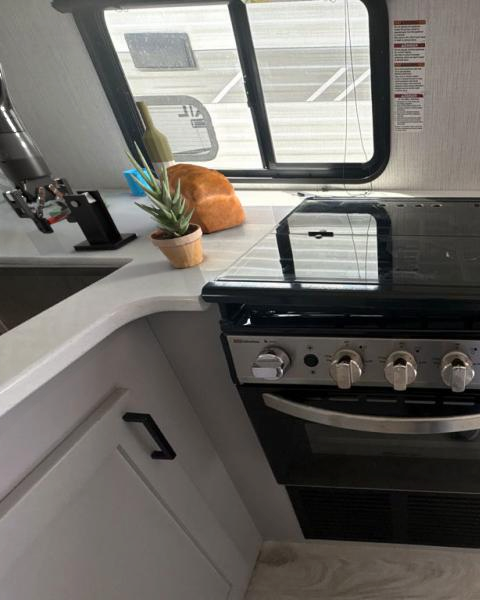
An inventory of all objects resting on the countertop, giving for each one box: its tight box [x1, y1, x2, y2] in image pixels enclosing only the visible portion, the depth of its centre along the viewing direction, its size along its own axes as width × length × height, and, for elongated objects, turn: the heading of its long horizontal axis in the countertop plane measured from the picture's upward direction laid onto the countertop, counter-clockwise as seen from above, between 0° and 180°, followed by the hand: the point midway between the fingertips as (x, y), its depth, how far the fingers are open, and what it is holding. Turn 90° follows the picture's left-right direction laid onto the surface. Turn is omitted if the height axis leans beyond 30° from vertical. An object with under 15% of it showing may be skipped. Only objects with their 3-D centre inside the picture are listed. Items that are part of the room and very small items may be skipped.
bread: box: [158, 162, 246, 234], centre depth 93 cm, size 14×26×16 cm, turn 49°
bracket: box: [62, 189, 138, 252], centre depth 80 cm, size 10×8×13 cm
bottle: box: [135, 101, 177, 182], centre depth 112 cm, size 7×7×30 cm
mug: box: [122, 167, 152, 197], centre depth 123 cm, size 12×8×8 cm
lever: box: [46, 192, 96, 226], centre depth 79 cm, size 12×5×2 cm, turn 91°
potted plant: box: [124, 140, 204, 269], centre depth 67 cm, size 10×10×25 cm
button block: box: [48, 198, 109, 218], centre depth 106 cm, size 12×10×4 cm
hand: (61, 227), depth 81 cm, fingers open, 7 cm apart
